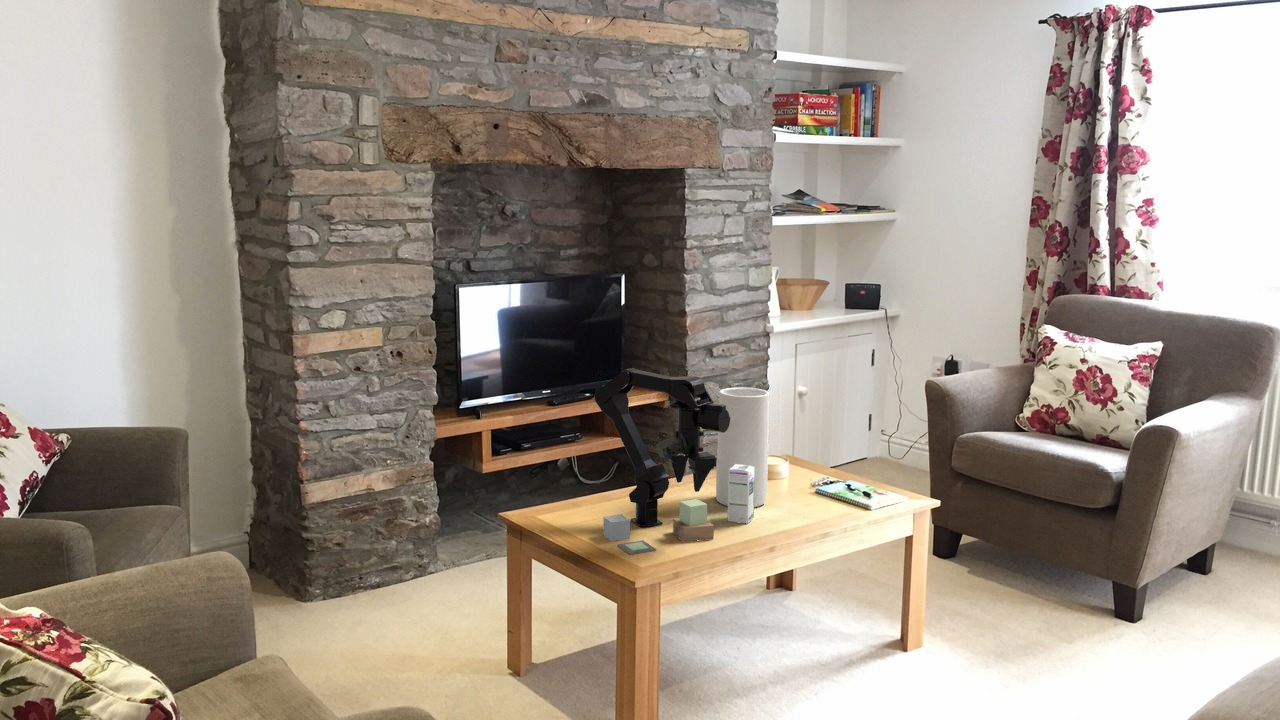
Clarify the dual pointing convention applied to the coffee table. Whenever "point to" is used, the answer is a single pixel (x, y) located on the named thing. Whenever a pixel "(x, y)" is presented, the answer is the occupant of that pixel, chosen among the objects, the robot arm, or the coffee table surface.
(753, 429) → the vase
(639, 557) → the coffee table surface
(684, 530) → the walnut block
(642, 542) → the card
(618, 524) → the slate cube
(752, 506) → the syrup box
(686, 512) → the green cube
